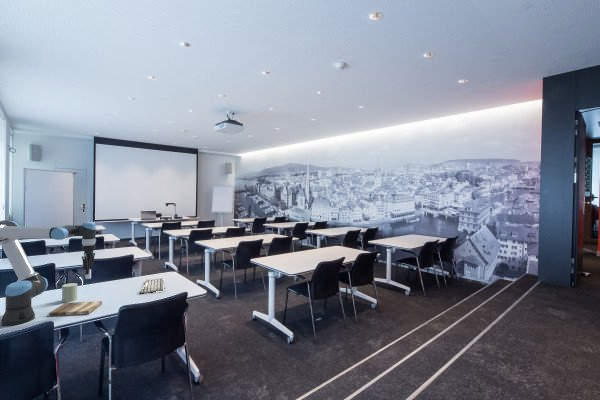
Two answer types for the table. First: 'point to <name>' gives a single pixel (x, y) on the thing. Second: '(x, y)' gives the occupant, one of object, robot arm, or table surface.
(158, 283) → the mechanical keyboard
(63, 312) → the walnut board
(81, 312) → the oak plank
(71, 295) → the can
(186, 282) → the table surface
